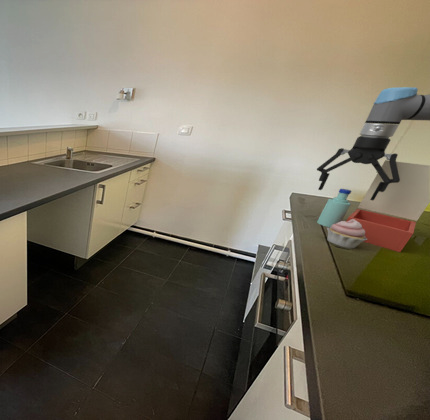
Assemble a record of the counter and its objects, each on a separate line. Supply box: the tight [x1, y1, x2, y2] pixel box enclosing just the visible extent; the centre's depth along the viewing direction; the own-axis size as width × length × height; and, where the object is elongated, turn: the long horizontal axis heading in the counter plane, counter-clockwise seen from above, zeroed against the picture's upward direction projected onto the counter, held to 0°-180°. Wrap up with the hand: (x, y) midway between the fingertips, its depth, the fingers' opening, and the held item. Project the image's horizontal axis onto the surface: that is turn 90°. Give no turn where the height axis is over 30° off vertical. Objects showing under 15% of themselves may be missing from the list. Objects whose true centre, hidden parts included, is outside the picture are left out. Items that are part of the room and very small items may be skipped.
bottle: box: [316, 188, 352, 228], centre depth 96 cm, size 6×6×16 cm
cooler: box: [346, 208, 417, 253], centre depth 88 cm, size 18×14×8 cm
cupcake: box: [326, 219, 367, 251], centre depth 82 cm, size 9×9×10 cm
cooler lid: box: [357, 159, 430, 222], centre depth 88 cm, size 19×14×1 cm
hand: (344, 194), depth 93 cm, fingers open, 13 cm apart
